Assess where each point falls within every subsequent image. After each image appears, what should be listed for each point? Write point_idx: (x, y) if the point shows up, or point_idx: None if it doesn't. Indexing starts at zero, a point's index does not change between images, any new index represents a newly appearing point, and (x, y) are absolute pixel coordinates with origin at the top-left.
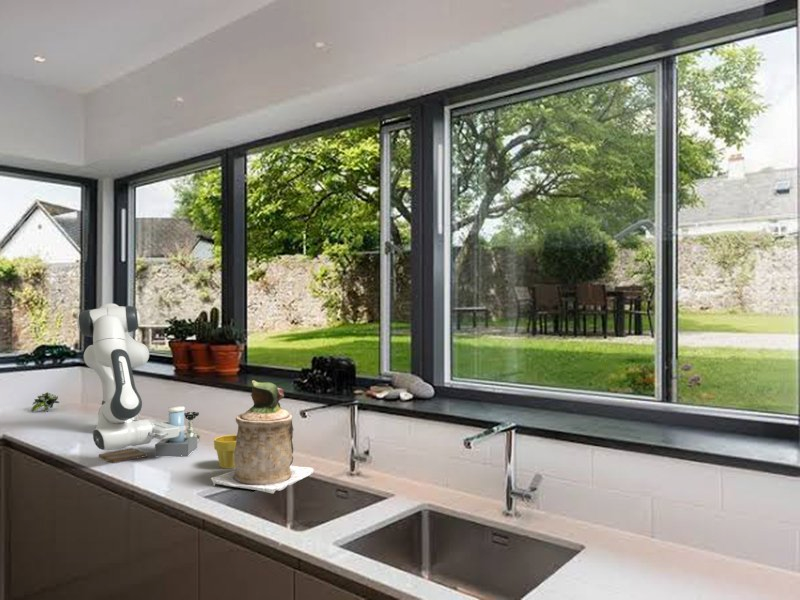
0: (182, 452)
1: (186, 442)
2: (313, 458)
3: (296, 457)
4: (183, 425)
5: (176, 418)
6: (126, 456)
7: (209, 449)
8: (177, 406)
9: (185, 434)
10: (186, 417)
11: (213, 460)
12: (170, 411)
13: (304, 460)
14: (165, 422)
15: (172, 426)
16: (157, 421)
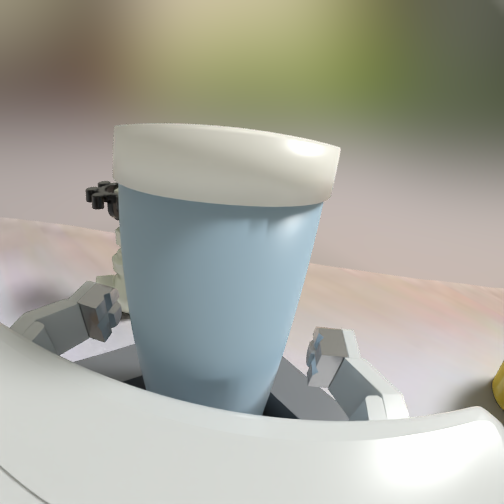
0: None
1: (314, 409)
2: (483, 287)
3: (474, 294)
4: (339, 332)
5: (294, 289)
6: None
7: (290, 344)
8: (181, 124)
9: (112, 284)
10: (115, 210)
11: (450, 408)
12: (232, 191)
13: (492, 298)
14: (63, 310)
15: (460, 451)
16: (2, 348)
